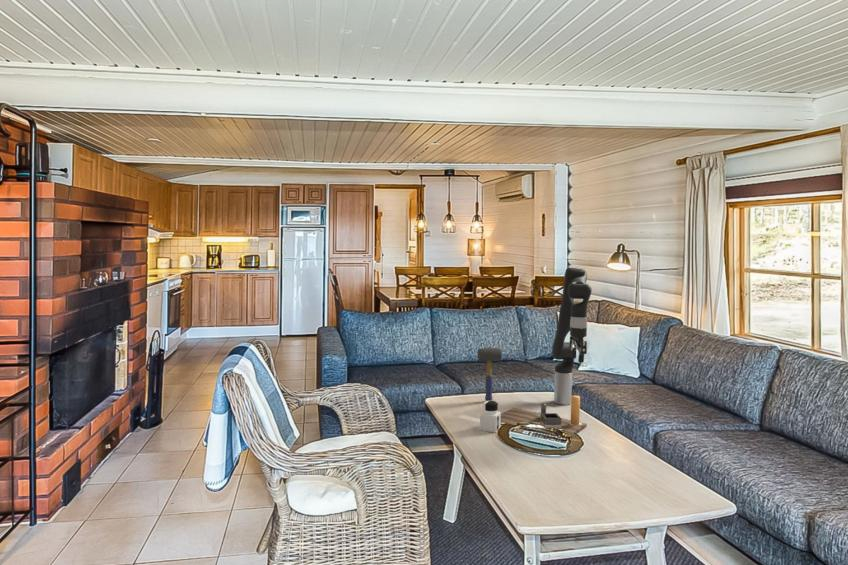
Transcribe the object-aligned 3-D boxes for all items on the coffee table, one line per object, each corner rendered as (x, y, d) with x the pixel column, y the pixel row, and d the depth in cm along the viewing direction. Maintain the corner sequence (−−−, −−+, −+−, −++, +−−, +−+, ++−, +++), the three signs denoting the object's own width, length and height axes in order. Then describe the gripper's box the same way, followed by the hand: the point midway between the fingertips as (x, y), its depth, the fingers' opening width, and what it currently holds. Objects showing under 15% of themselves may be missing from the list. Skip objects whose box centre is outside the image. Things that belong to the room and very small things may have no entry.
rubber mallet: (497, 399, 298) (499, 346, 296) (501, 403, 290) (502, 348, 288) (476, 400, 296) (476, 346, 294) (479, 404, 289) (480, 349, 287)
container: (500, 427, 252) (501, 400, 251) (495, 432, 245) (496, 405, 244) (484, 425, 255) (485, 398, 254) (479, 430, 248) (480, 402, 247)
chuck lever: (534, 416, 263) (534, 402, 263) (549, 416, 264) (549, 402, 263) (544, 429, 245) (545, 414, 244) (561, 429, 245) (561, 414, 244)
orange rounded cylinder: (580, 423, 254) (581, 396, 253) (577, 425, 251) (577, 398, 250) (572, 421, 257) (573, 395, 256) (569, 423, 254) (569, 396, 253)
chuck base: (513, 410, 278) (513, 407, 278) (586, 426, 255) (586, 423, 254) (489, 422, 259) (489, 418, 259) (566, 441, 236) (566, 437, 236)
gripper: (564, 324, 257) (563, 357, 258) (577, 328, 243) (575, 364, 244) (579, 323, 258) (578, 357, 259) (592, 328, 244) (591, 363, 245)
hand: (577, 360), depth 252 cm, fingers open, 8 cm apart
